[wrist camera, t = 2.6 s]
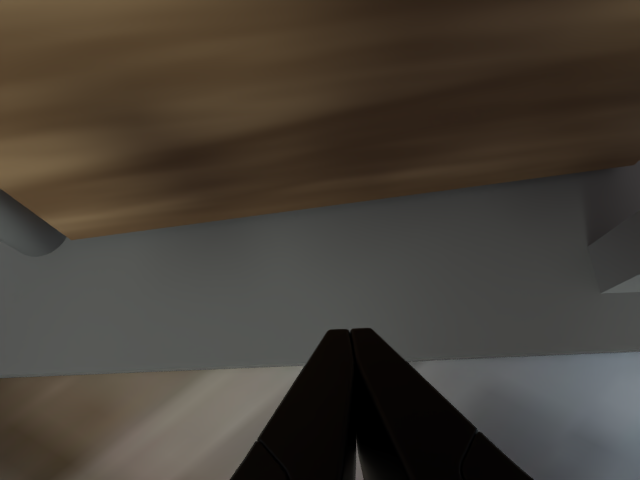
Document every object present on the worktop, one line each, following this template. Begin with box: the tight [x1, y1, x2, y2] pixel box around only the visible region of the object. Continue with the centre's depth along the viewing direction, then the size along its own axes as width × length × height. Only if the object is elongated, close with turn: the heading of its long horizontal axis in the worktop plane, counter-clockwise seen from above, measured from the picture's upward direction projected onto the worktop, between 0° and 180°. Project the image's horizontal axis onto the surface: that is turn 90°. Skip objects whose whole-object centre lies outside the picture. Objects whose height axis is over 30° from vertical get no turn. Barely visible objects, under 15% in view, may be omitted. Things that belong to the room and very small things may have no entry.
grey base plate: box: [0, 160, 640, 378], centre depth 15 cm, size 20×32×16 cm, turn 92°
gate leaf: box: [0, 0, 640, 240], centre depth 13 cm, size 3×24×14 cm, turn 98°
